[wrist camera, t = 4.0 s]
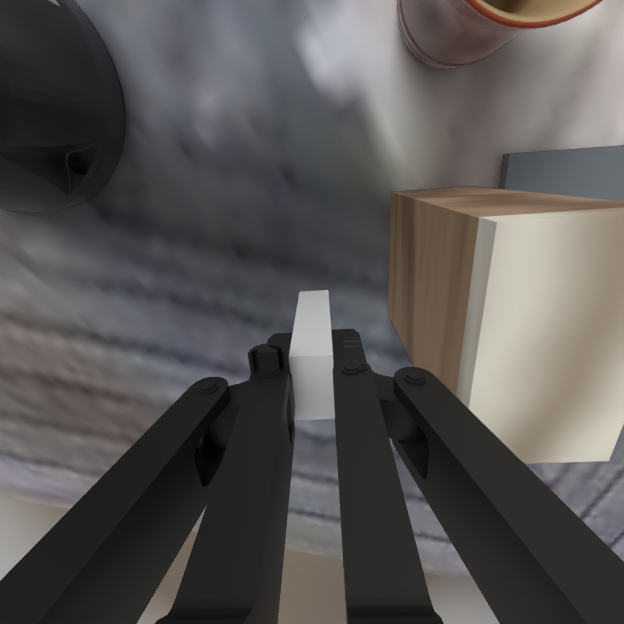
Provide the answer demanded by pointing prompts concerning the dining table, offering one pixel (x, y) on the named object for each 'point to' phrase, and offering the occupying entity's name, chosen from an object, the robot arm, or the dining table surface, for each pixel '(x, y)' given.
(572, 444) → the brown and cream block
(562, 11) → the mug
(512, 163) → the mat
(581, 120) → the dining table surface
